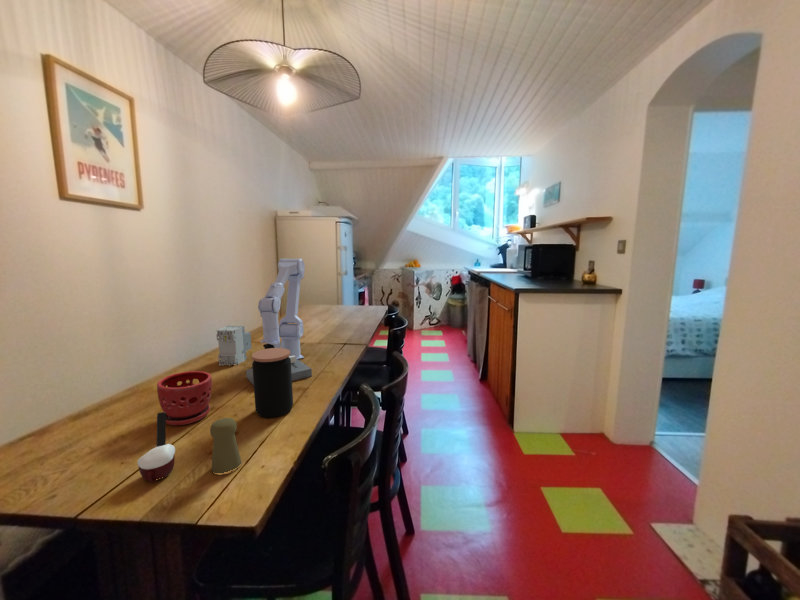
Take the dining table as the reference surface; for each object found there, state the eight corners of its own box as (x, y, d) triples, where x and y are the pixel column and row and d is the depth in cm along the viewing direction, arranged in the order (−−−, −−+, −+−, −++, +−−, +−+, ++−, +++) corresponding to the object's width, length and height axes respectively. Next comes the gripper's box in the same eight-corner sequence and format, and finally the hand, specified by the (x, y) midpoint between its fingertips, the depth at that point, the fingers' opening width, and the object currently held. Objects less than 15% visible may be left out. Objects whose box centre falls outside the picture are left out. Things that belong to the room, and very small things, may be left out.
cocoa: (156, 491, 68) (149, 438, 66) (128, 488, 69) (120, 436, 66) (189, 460, 78) (184, 413, 75) (164, 458, 78) (158, 411, 76)
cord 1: (250, 370, 135) (250, 366, 135) (254, 369, 136) (254, 365, 136) (255, 375, 129) (254, 371, 129) (259, 374, 130) (259, 370, 130)
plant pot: (157, 434, 88) (152, 391, 87) (165, 412, 100) (160, 374, 98) (214, 422, 94) (210, 382, 93) (215, 403, 106) (211, 367, 104)
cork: (218, 458, 78) (214, 414, 76) (245, 457, 79) (242, 413, 77) (206, 476, 72) (201, 428, 71) (235, 474, 73) (231, 427, 71)
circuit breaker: (254, 355, 154) (251, 323, 151) (235, 365, 140) (233, 330, 137) (238, 354, 154) (236, 322, 152) (219, 365, 140) (215, 330, 138)
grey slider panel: (246, 377, 127) (246, 369, 127) (298, 366, 139) (297, 358, 139) (257, 389, 116) (256, 381, 116) (311, 376, 128) (311, 368, 128)
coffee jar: (300, 405, 105) (297, 349, 102) (277, 422, 95) (273, 360, 92) (272, 400, 108) (268, 346, 105) (247, 415, 98) (242, 356, 95)
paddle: (286, 362, 133) (286, 357, 133) (294, 361, 135) (294, 355, 135) (287, 363, 132) (287, 358, 132) (295, 362, 134) (295, 356, 134)
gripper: (254, 326, 134) (257, 359, 136) (265, 333, 122) (268, 369, 124) (272, 323, 138) (274, 355, 140) (285, 330, 127) (286, 365, 129)
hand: (272, 361), depth 132 cm, fingers closed
